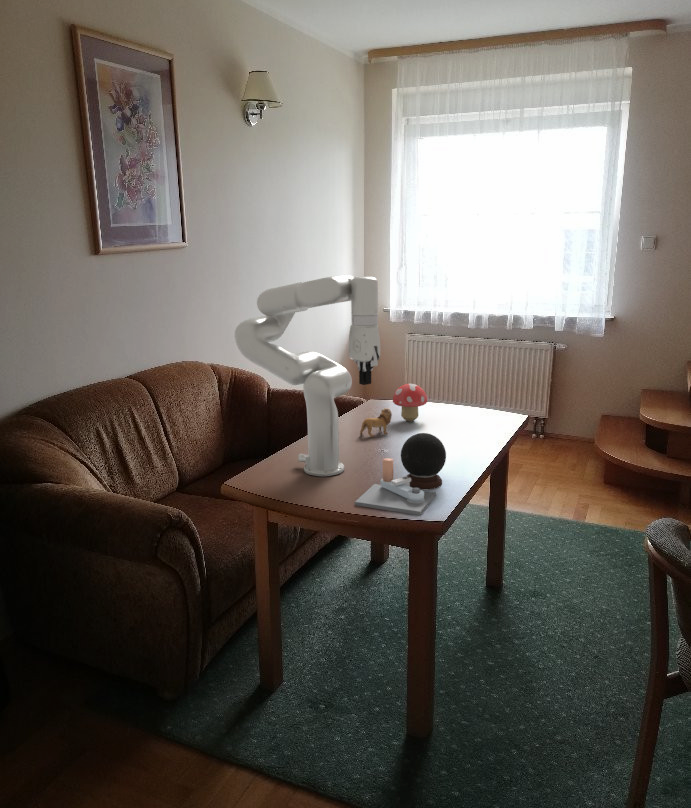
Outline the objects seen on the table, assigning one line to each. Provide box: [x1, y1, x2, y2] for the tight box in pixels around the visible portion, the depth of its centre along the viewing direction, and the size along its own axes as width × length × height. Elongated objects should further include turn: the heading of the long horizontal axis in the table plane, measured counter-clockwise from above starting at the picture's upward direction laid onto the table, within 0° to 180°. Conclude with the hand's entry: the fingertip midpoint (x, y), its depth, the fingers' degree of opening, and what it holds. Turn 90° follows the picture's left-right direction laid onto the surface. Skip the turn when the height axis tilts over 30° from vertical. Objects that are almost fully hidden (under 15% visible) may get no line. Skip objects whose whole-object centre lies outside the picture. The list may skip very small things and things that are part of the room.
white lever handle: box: [380, 457, 425, 502], centre depth 187 cm, size 16×4×8 cm, turn 35°
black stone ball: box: [400, 432, 447, 490], centre depth 198 cm, size 13×13×15 cm
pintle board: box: [354, 475, 437, 516], centre depth 186 cm, size 18×14×5 cm
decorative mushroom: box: [392, 383, 428, 422], centre depth 263 cm, size 13×13×15 cm
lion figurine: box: [359, 407, 393, 438], centre depth 247 cm, size 15×5×9 cm, turn 128°
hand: (365, 383), depth 197 cm, fingers closed
